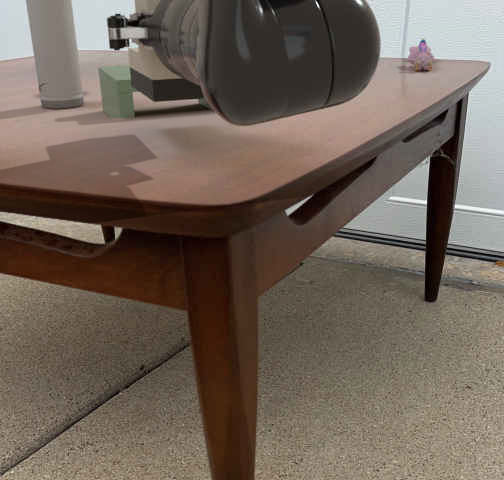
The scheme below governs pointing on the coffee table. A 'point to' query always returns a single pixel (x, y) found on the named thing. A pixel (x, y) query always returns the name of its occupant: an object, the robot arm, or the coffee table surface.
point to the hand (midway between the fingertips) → (161, 25)
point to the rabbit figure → (421, 57)
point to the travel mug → (55, 53)
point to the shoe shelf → (121, 91)
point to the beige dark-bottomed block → (157, 72)
